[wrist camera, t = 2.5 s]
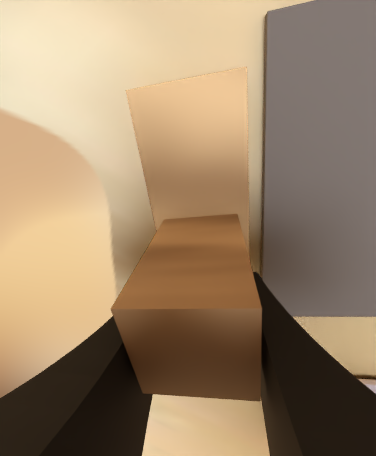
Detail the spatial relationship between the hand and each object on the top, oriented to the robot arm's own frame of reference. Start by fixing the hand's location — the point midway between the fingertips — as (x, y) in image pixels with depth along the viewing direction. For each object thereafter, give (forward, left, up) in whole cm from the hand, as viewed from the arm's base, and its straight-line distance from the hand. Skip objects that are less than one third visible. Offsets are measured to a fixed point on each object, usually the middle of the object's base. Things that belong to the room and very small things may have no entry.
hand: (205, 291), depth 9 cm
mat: (+3, -7, -3) cm, 8 cm away
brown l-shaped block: (+4, 0, -3) cm, 5 cm away
